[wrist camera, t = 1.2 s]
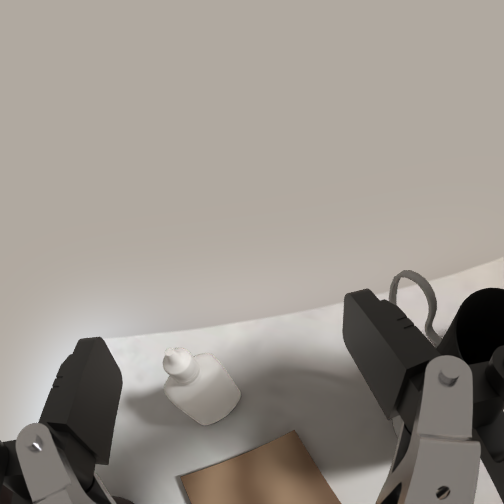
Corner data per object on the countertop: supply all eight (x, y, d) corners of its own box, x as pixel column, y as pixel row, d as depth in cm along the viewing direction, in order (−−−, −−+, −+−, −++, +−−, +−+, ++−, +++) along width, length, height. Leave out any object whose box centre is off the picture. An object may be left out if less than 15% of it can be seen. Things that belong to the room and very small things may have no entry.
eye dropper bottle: (190, 392, 29) (136, 336, 21) (239, 380, 30) (201, 318, 22) (195, 428, 26) (135, 385, 18) (247, 417, 26) (209, 368, 18)
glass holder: (425, 471, 17) (512, 435, 8) (343, 374, 28) (355, 278, 18) (482, 410, 19) (566, 332, 10) (402, 329, 30) (433, 223, 20)
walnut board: (295, 431, 24) (294, 429, 24) (340, 503, 18) (341, 504, 17) (184, 477, 22) (180, 476, 21) (219, 551, 15) (215, 553, 15)
